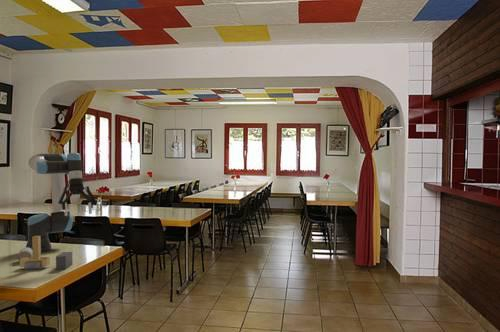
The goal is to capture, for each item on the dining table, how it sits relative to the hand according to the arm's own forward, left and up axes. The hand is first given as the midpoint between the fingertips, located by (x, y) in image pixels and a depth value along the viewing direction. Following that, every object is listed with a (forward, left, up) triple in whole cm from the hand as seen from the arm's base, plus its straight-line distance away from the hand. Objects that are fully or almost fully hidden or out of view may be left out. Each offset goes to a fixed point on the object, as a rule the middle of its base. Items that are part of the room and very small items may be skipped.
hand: (78, 214), depth 225 cm
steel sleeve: (+11, -20, -27) cm, 36 cm away
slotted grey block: (+11, -4, -27) cm, 30 cm away
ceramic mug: (-5, -30, -28) cm, 41 cm away
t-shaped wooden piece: (+11, -20, -26) cm, 34 cm away
